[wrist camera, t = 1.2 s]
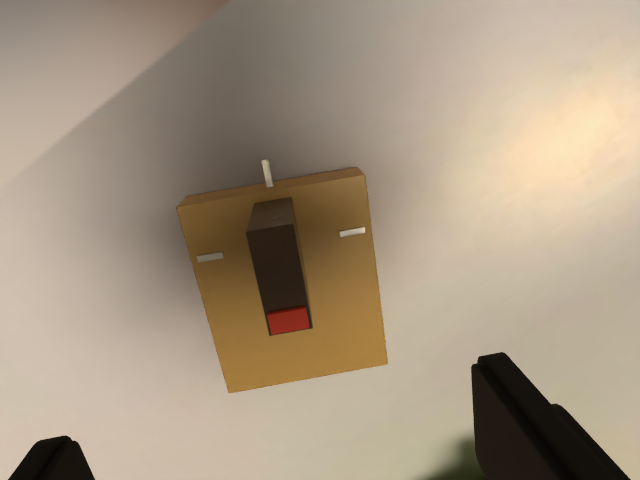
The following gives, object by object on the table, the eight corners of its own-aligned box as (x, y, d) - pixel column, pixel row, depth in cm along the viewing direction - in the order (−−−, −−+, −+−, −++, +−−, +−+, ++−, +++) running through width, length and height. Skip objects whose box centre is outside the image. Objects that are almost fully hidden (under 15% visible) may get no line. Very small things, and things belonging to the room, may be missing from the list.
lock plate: (178, 168, 23) (166, 176, 21) (353, 138, 23) (362, 143, 21) (233, 368, 28) (228, 395, 25) (379, 342, 28) (388, 366, 25)
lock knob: (253, 203, 21) (244, 233, 16) (291, 196, 21) (293, 225, 17) (272, 288, 23) (269, 339, 18) (307, 282, 23) (313, 331, 18)
